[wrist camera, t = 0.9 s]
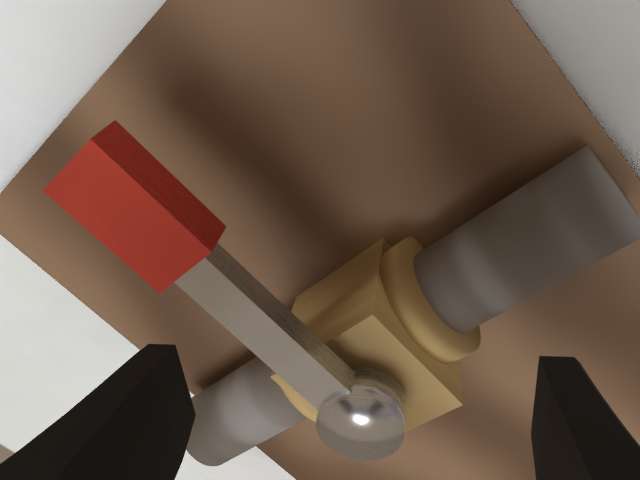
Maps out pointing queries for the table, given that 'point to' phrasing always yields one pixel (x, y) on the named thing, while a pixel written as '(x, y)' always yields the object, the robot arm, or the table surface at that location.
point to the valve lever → (222, 286)
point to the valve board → (367, 220)
